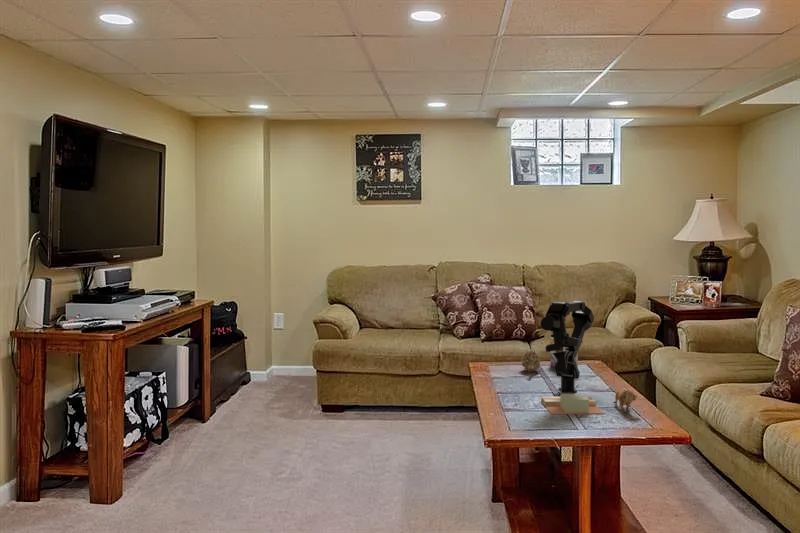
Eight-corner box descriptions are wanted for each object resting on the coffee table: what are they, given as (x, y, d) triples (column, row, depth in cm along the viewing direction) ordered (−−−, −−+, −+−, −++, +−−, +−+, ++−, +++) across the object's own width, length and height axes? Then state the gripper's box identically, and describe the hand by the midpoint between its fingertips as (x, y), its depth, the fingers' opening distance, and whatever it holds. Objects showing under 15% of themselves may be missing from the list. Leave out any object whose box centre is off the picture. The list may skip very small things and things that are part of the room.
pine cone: (519, 367, 308) (520, 348, 308) (539, 368, 307) (539, 348, 306) (522, 378, 286) (522, 357, 286) (543, 378, 285) (543, 357, 284)
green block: (560, 394, 239) (565, 399, 232) (583, 394, 239) (588, 399, 232) (560, 406, 239) (565, 412, 232) (583, 406, 239) (588, 412, 232)
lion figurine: (638, 414, 229) (639, 391, 229) (625, 415, 228) (625, 392, 228) (619, 403, 244) (619, 381, 243) (606, 404, 243) (607, 382, 242)
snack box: (549, 365, 312) (549, 336, 311) (559, 365, 313) (559, 336, 312) (567, 375, 291) (568, 344, 290) (578, 374, 292) (578, 343, 291)
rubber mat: (545, 406, 240) (545, 406, 240) (596, 406, 240) (596, 405, 240) (551, 414, 231) (551, 413, 231) (604, 413, 231) (604, 413, 231)
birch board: (541, 401, 248) (541, 396, 248) (590, 401, 248) (590, 396, 247) (545, 406, 241) (545, 401, 241) (595, 406, 241) (595, 401, 240)
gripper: (567, 327, 242) (574, 366, 238) (586, 329, 256) (592, 367, 252) (542, 331, 248) (548, 370, 245) (561, 334, 263) (567, 370, 259)
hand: (565, 369), depth 250 cm, fingers closed
